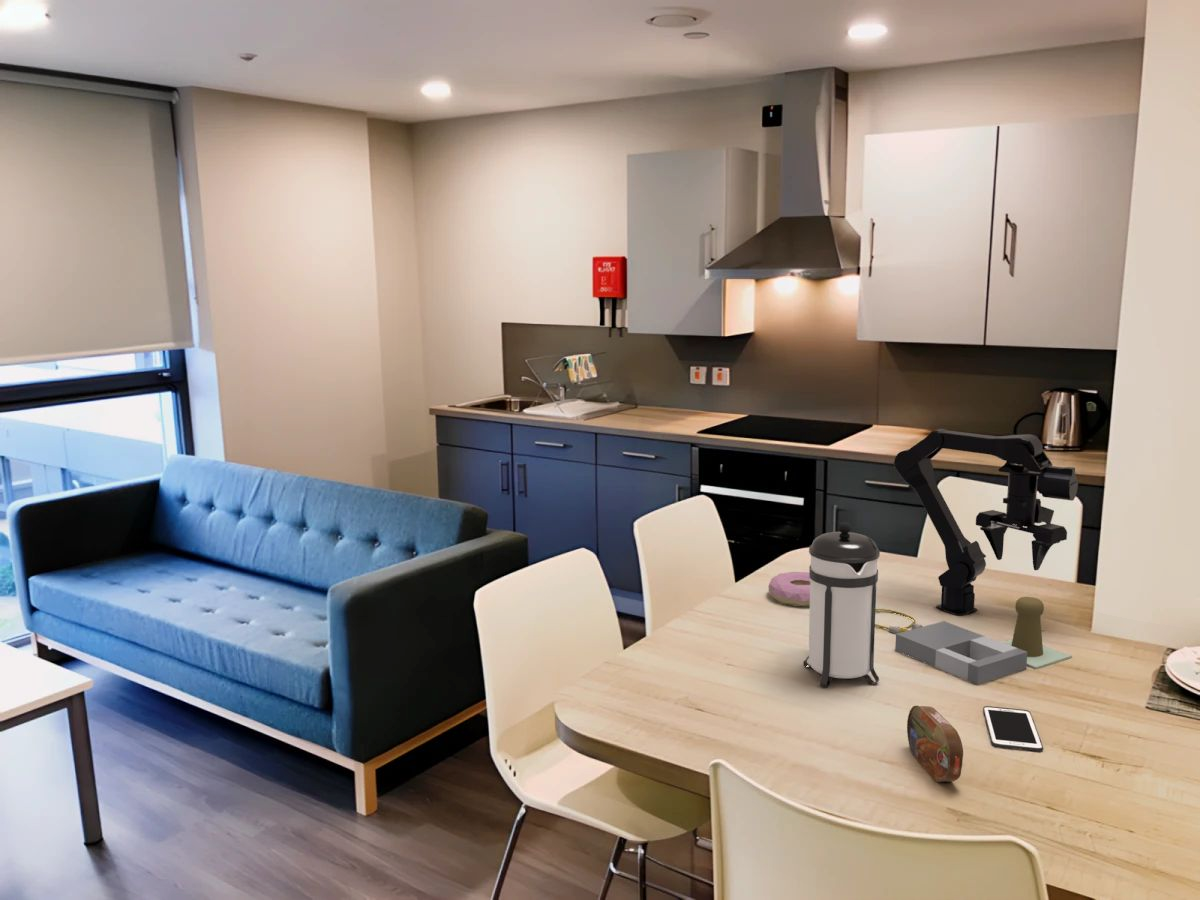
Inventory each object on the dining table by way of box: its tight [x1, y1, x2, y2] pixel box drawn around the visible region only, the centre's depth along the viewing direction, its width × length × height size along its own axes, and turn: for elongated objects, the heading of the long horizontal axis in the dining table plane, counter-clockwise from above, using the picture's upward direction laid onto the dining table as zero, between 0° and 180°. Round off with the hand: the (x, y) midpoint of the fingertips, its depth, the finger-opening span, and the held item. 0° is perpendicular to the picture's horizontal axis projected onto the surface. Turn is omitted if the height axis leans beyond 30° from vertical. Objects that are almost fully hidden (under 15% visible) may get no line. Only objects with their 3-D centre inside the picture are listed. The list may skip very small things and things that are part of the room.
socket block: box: [894, 620, 1028, 686], centre depth 192 cm, size 20×14×4 cm
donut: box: [768, 571, 810, 607], centre depth 230 cm, size 16×15×5 cm
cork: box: [1011, 596, 1045, 657], centre depth 194 cm, size 6×6×11 cm
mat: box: [1001, 638, 1073, 670], centre depth 195 cm, size 12×11×1 cm
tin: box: [906, 705, 964, 783], centre depth 150 cm, size 15×3×8 cm, turn 5°
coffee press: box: [803, 521, 881, 688], centre depth 184 cm, size 17×16×30 cm
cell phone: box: [982, 705, 1044, 753], centre depth 163 cm, size 8×15×1 cm, turn 165°
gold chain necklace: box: [875, 608, 924, 635], centre depth 212 cm, size 12×16×2 cm
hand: (1017, 564), depth 210 cm, fingers open, 9 cm apart
